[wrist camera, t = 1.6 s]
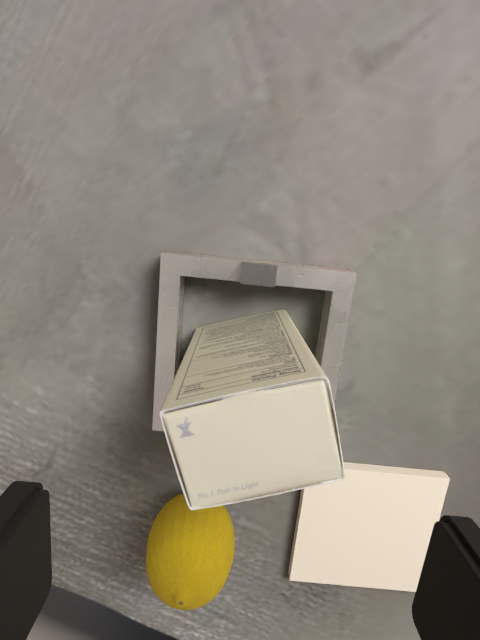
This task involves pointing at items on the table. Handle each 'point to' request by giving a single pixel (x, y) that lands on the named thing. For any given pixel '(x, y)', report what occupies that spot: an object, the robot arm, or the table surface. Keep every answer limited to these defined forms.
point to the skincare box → (250, 414)
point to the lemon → (189, 553)
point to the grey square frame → (251, 273)
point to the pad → (367, 527)
